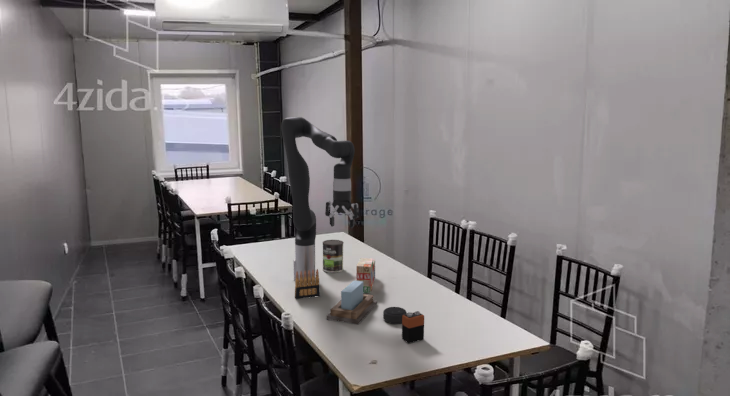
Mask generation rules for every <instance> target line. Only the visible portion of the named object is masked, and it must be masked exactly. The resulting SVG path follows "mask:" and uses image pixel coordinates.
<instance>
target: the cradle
mask: <svg viewBox="0 0 730 396" xmlns="http://www.w3.org/2000/svg"><path fill="white" fill-rule="evenodd" d="M377 305H378V300H374V295H372V294H367V293H363V301H362V302H361V303H360V304H359V305H358V306H357V307H356V308H355V309H354V310H347V309H341V299H340V301H338V302H337V303H336V304H334V306H332V307H331V308H330V311H329V313H327V315H326V319H327V320H328V321H335V322H340V323H347V324H352V325H353V324H356V325H359V324H360V323H361V322H362V321H363V320H364V319H365V318H366V317H367V316H368V315H369V313H371V311H372V310H374V308H375V307H376V306H377Z"/></svg>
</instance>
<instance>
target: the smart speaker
mask: <svg viewBox="0 0 730 396" xmlns="http://www.w3.org/2000/svg"><path fill="white" fill-rule="evenodd" d="M382 313H383V314H382V316H383V317H382V318H383V321H385V322H386V323H389V324H392V325H393V324H394V325H395V324H397V325H398V324H402V316H403V315H405V314H407V313H408V312H407V311H406V309H405V308H403V307H401V306H400V307H399V306H389V307H386V308H385V309H384V310H383V312H382Z"/></svg>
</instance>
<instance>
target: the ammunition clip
mask: <svg viewBox="0 0 730 396" xmlns="http://www.w3.org/2000/svg"><path fill="white" fill-rule="evenodd" d="M294 281H295V283H294V284H295V286H294V299H295V300H301V299H307V298H308V299H309V297H310V298H315V296H318V297H321V292H320V291H321V290H320V276H319V269H318V268H316V269H315V273H314V269H313V270H312V278H311V274H310V270H309V271H308V279H307V274H306V270H305V271H304V279H303V275H302V271H300V279H299V276H298V271H297V272H296V280H294Z"/></svg>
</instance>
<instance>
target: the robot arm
mask: <svg viewBox="0 0 730 396" xmlns="http://www.w3.org/2000/svg"><path fill="white" fill-rule="evenodd" d="M280 125H281V127H280V128H281V129H280V130H281V134H282V136H281V137H282V140H283V144H284V148H285V154H286V155H285V156H286V161H287V162H286V163H287V173H288V178H289V179H288V180H289V188H290V193H291V199H292V214H293V215H292V222H293V225H294V227H295V229H296V234H295V238H294V244H295V245H294V254H295V255H294V257H295V258H294V259H293V280H294V281H295V280H296V272H297V271H298V276H299V279H300V271H302V275H303V279H304V271H305V270H306V274H307V279H308V271H309V270H310V274H311V278H312V270H313V269H314V273H315V274H316V238H317V218H316V213H315V212H314V211H313V210H312V209H310V202H309V201H310V200H309V197H310V196H309V195H310V188H311V187H310V185H311V180H310V178H311V176H310V170H309V169H310V168H309V165H308V163H307V161H306V159H305V158H304V157H303V155H301V153H300V151H299V150H298V147H297V141H296V140H297V139H298V138H302V137H305V138H308V139H311V141H312V143H313V145H314V146H316V147H317V148H319V149H321V150H324V151H325V152H326V153H327V154H328V155H329V156H330V157H332V158H334V159H340V161H339V162H338V163H336V164H334V166H333V181H332V201H330V200H329V201H326V202H325V213H324V214H325V217H328V218H329V225H330V227H334V226H335V216H336V214H337V213H338V214H346V216H348V217H349V229H353V228H354V227H355V220H356V219H357V218H360V209H359V203H357V202H356V203H353V202H352V181H351V173H352V172H351V171H352V170H351V168H352V164H353V161H354V156H355V145H354V143H353V142H352V141H350V140H338V139H337V138H336V137H335V136H334V135H332V134H330V133H328V132H326V131H323V130H321V129H320V128H318V127H316V126H315V125H314V124H313V123H311V122H310V121H308V120H307V119H306V118H304V117H302V116H293V117H285V118H284V119H282V122H281V124H280ZM332 207H333V209H332V211H331V208H332ZM352 209H353V210H352Z"/></svg>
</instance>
